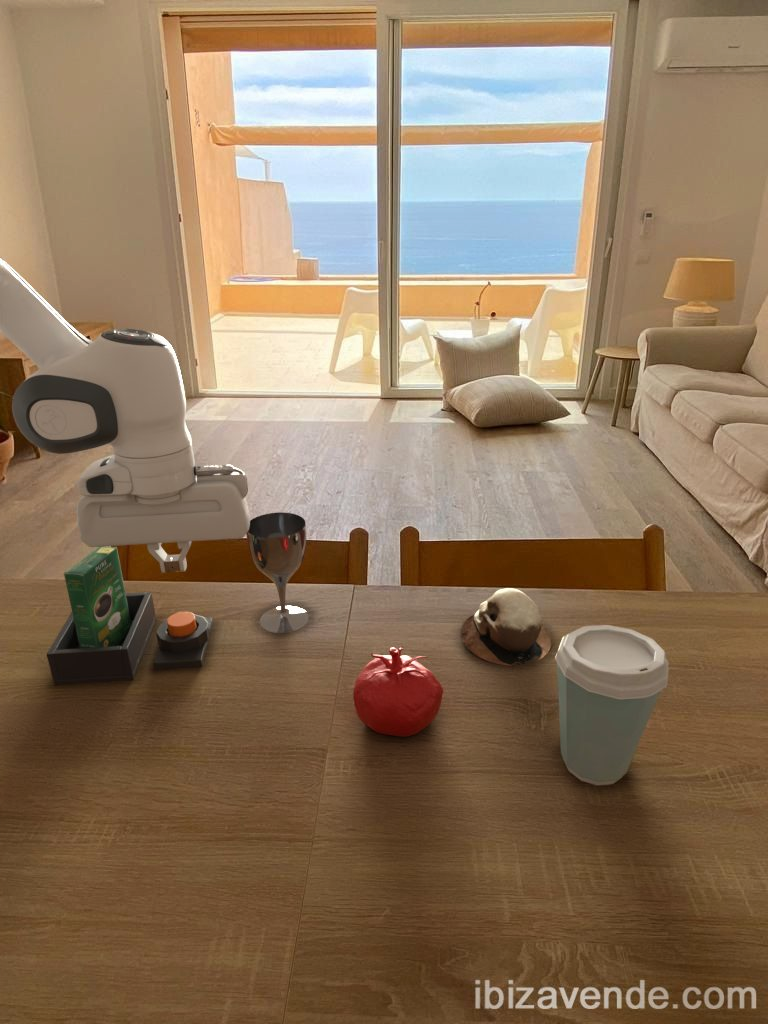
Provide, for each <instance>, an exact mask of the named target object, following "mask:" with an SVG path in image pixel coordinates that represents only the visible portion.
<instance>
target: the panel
mask: <svg viewBox="0 0 768 1024" xmlns="http://www.w3.org/2000/svg"><path fill="white" fill-rule="evenodd" d="M194 616H195V620H196V626H197V628H196V631H195V632H193V633H192V634H189V635H186V636H181V637H174V636H171V635H170V634H169V631H168V625H167V619H165V620H164V621H163V622H162V623H161V624H159V625H158V627H157V630H156V633H155V634H156V639H157V645H158V646H159V647H158V649H157V652H156V655H155V658H154V660H153V669H154V671H162V670H163V671H164V670H178V669H179V670H180V669H193V668H203V666H204V662H205V657H206V654H207V650H208V646H209V642H210V637H211V634H212V630H213V626H214V623H213V622H214V621H213V617H212V616H211V617H204V616H202V615H198V614H194Z"/></svg>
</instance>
